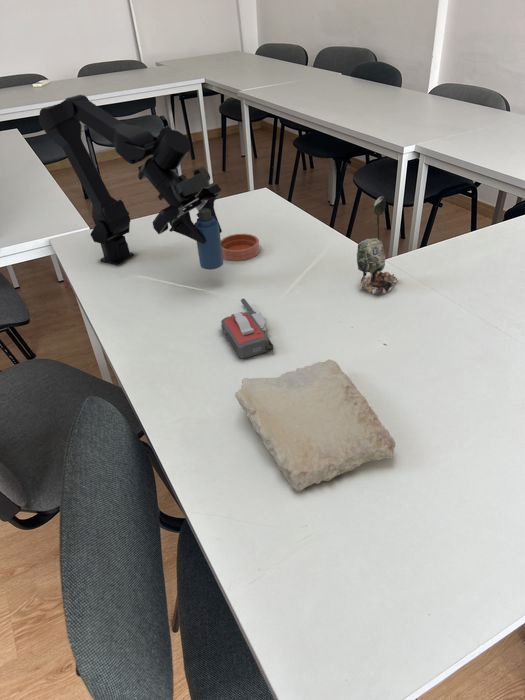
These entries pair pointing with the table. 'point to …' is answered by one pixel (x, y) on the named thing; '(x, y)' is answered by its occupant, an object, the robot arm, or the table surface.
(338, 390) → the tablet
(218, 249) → the blue bottle
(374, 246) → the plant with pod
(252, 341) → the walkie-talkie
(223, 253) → the dish
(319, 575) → the table surface
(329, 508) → the table surface
